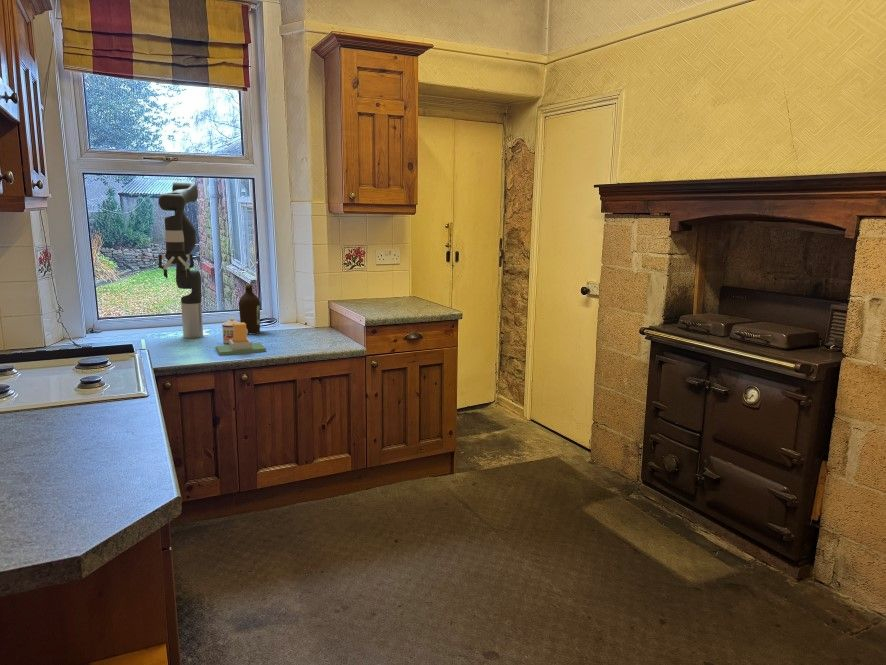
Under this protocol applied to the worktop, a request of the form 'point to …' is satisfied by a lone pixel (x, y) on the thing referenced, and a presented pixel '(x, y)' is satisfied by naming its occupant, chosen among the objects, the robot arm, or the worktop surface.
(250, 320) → the olive oil
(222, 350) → the deck plate
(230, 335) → the teacup with lid
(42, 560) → the worktop surface
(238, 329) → the orange wooden block
